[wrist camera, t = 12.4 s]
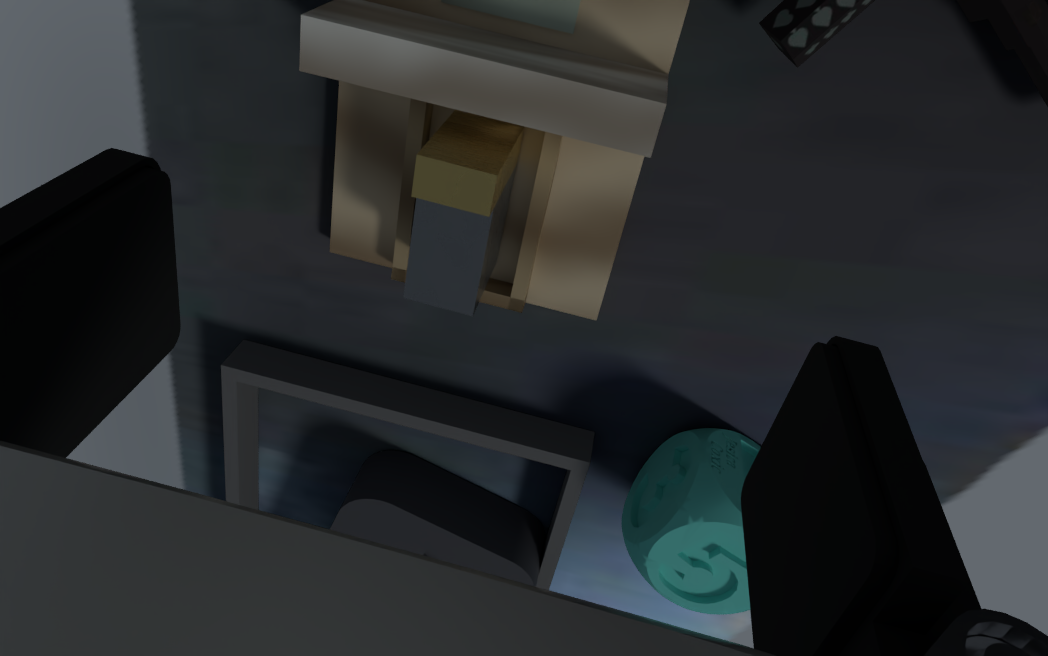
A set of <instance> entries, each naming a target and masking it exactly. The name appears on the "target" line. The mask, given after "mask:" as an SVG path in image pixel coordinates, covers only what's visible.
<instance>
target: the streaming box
mask: <svg viewBox="0 0 1048 656" xmlns="http://www.w3.org/2000/svg"><path fill="white" fill-rule="evenodd" d="M329 530H333V531H337V532H340V533H344V534H348V535H351V536H355V537H359V538H362V539H366V540H369V541H373V542H377V543H380V544H384V545H388V546H391V547H395V548H399V549H402V550H406V551H409V552H413V553H417V554H420V555H424V556H428V557H431V558H435V559H438V560H442V561H446V562H449V563H453V564H456V565H460V566H464V567H467V568H471V569H474V570H478V571H481V572H485V573H489V574H492V575H496V576H499V577H503V578H506V579H510V580H514V581H517V582H521V583H524V584H528V585H531V586H535V587H536V586H537V581H538V575H539V570H540V565H541V560H542V555H543V550H544V545H545V538H546V537H545V531H544V528H543V527H542V525H541V523H540V522H539V521H538V519H537V518H536V517H534V516H533V515H532V514H531V513H529V512H528V511H526V510H524V509H522V508H520V507H518V506H516V505H514V504H512V503H510V502H508V501H506V500H504V499H502V498H500V497H498V496H496V495H494V494H492V493H489V492H487V491H485V490H483V489H481V488H479V487H477V486H475V485H473V484H471V483H469V482H467V481H465V480H463V479H461V478H459V477H457V476H455V475H453V474H451V473H449V472H446V471H444V470H442V469H440V468H438V467H436V466H434V465H432V464H430V463H428V462H426V461H424V460H422V459H420V458H418V457H416V456H413V455H411V454H408V453H405V452H401V451H392V450H389V451H382V452H378V453H375V454H373V455H372V456H370V457H369V458H368V459H367V460H366V461H365V462H364V464H363V466H362V468H361V470H360V471H359V473H358V475H357V477H356V479H355V481H354V483H353V485H352V487H351V489H350V491H349V493H348V495H347V497H346V499H345V500H344V502H343V504H342V506H341V508H340V510H339V512H338V514H337V516H336V518H335V520H334V522H333V524H332V526H331V528H330V529H329Z"/></svg>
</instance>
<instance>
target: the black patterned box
mask: <svg viewBox="0 0 1048 656" xmlns="http://www.w3.org/2000/svg"><path fill="white" fill-rule="evenodd" d="M874 1H875V0H784V1H783V2H781V3H780V4H779V5H778V6H777V7H776V8H775V9H774V10H773V11H772V12H771V13H769V14H768V15H767V16H766V17H765V18H764V19H763V20H762V21H761V22H760V23H759V24H760V25H761V26H762V28H763V29H764V30H765V32H766V33H767V34H768V36H769V37H770V38H771V39H772V41H773V42H774V43H775V45H776V46H777V47H778V49H779V50H780V51H781V52H782V53H783V54H784V55H785V56H786V57H787V58H788V59H789V60H790V61H791V62H792V63H793V64H794V65H795V66H796V67H799V66H800V65H801V64H802V63H803V62H804V61H806V60H807V59H808V58H809V57H810V56H811V55H812V54H814V53H815V52H816V51H817V50H818V49H819V48H821V47H822V46H823V45H824V44H825V43H826V42H827V41H829V40H830V39H831V38H832V37H833V36H834V35H836V34H837V33H838V32H839V31H840V30H841V29H843V28H844V27H845V26H846V25H847V24H848V23H849V22H851V21H852V20H853V19H854V18H855V17H856V16H858V15H859V14H860V13H861V12H862V11H863V10H864V9H866V8H867V7H868V6H869V5H870V4H871V3H873V2H874ZM957 2H958V3H959V5H960V7H961V8H962V10H963V12H964V13H965V15H966V17H967V19H968V20H969V22H975V21H980V20H985V19H988V20H989V22H990V24H991V25H992V27H993V29H994V30H995V32H996V34H997V35H998V37H999V39H1000V41H1001V42H1002V44H1003V46H1004V47H1005V49H1006V51H1007V50H1013V49H1014V50H1015V52H1016V53H1017V55H1018V57H1019V58H1020V60H1021V62H1022V64H1023V65H1024V67H1025V69H1026V70H1027V72H1028V74H1029V76H1030V77H1031V79H1032V81H1033V82H1034V84H1035V86H1036V88H1037V89H1038V91H1039V93H1040V94H1041V96H1042V98H1043V100H1044V101H1045V103H1046V105H1047V106H1048V5H1047V3H1046V1H1045V0H957Z"/></svg>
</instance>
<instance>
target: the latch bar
mask: <svg viewBox="0 0 1048 656" xmlns="http://www.w3.org/2000/svg"><path fill="white" fill-rule="evenodd" d="M524 128H525V126H520V125H516V124H512V123H508V122H504V121H500V120H496V119H492V118H488V117H484V116H480V115H476V114H472V113H468V112H464V111H460V110H456V109H455V110H454V111H453V113H452V114H451V115H450V116H449V117H448V118H447V120H446V121H445V122H444V123H443V124H442V125H441V127H440V128H439V129H438V130H437V131H436V132H435V134H434V135H433V136H432V137H431V138H430V139H429V141H428V142H427V143H426V144H425V145H424V146H423V148H422V149H421V150H420V151H419V152H418V153H417V156H416V163H415V171H414V179H413V187H412V195H411V197H415V198H416V205H415V212H414V220H413V228H412V235H411V243H410V250H409V258H408V266H407V273H406V281H405V288H404V296H403V298H406V299H410V300H413V301H417V302H421V303H425V304H428V305H432V306H436V307H439V308H443V309H447V310H451V311H454V312H458V313H462V314H466V315H469V316H473V315H474V312H475V310H476V308H477V306H478V303H479V301H480V299H481V297H482V294H483V292H484V290H485V288H486V285H487V283H488V281H489V279H490V276H491V274H492V272H493V270H494V267H495V265H496V263H497V259H498V254H499V249H500V244H501V240H502V235H503V230H504V225H505V220H506V215H507V210H508V206H509V201H510V196H511V191H512V186H513V181H514V176H515V172H516V167H517V162H518V157H519V152H520V147H521V143H522V138H523V133H524Z"/></svg>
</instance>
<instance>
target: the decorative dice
mask: <svg viewBox="0 0 1048 656" xmlns="http://www.w3.org/2000/svg"><path fill="white" fill-rule="evenodd" d="M760 448H761V446H759V445H758V444H757V443H755V442H754V441H752V440H751V439H749V438H747V437H746V436H744V435H742V434H740V433H737V432H734V431H731V430H725V429H719V428H700V429H693V430H688V431H684V432H680V433H678V434H676V435H674V436H672V437H670V438H669V439H668V440H666V441H665V442H664V443H663V444H662V445H660V446H659V447H658V448H657V449H656V450H655V452H654V453H653V454H652V455H651V456H650V457H649V459H648V460H647V461H646V463H645V464H644V466H643V467H642V469H641V470H640V472H639V473H638V475H637V477H636V479H635V480H634V482H633V484H632V486H631V489H630V491H629V493H628V496H627V499H626V502H625V505H624V509H623V514H622V532H623V537H624V541H625V544H626V547H627V550H628V553H629V555H630V557H631V559H632V561H633V562H634V564H635V566H636V567H637V569H638V571H639V572H640V573H641V575H642V576H643V577H644V578H645V580H646V581H647V582H648V583H649V584H650V585H651V586H652V587H653V588H654V589H655V590H656V591H657V592H658V593H660V594H661V595H662V596H664V597H665V598H666V599H668V600H670V601H671V602H673V603H675V604H677V605H679V606H681V607H683V608H686V609H689V610H692V611H696V612H701V613H707V614H733V613H739V612H744V611H747V610H750V599H749V588H748V577H747V566H746V555H745V544H744V533H743V522H742V511H741V492H742V487H743V484H744V480H745V478H746V476H747V474H748V472H749V470H750V468H751V466H752V464H753V462H754V460H755V458H756V456H757V454H758V452H759V450H760Z"/></svg>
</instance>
